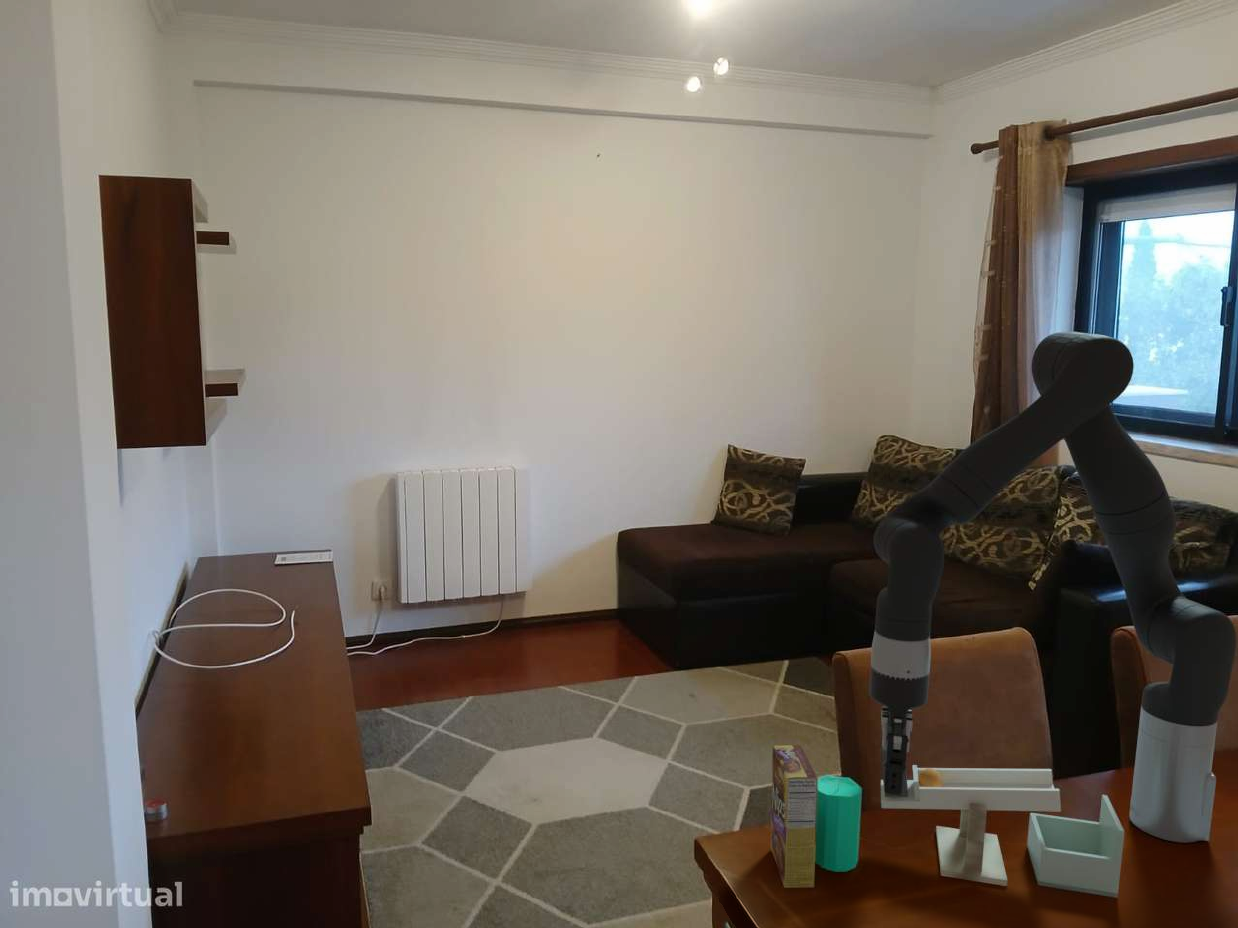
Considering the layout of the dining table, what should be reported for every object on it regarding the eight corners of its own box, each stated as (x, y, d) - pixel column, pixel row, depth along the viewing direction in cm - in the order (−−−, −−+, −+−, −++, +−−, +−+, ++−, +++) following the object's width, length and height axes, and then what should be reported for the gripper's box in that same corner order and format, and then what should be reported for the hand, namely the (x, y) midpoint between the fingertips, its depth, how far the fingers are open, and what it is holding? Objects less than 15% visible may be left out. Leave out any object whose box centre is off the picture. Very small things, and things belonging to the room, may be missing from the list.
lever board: (1052, 792, 124) (1048, 737, 123) (1061, 818, 117) (1058, 760, 116) (881, 789, 130) (877, 737, 129) (882, 814, 123) (877, 759, 122)
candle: (858, 874, 120) (864, 788, 118) (811, 868, 122) (816, 783, 120) (856, 848, 126) (861, 766, 124) (811, 843, 127) (815, 761, 125)
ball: (944, 783, 125) (937, 762, 125) (945, 793, 123) (938, 772, 122) (921, 787, 126) (914, 767, 126) (922, 798, 123) (915, 777, 123)
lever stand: (996, 839, 129) (1001, 775, 127) (1007, 886, 118) (1013, 816, 117) (935, 830, 131) (940, 767, 129) (941, 875, 120) (946, 806, 119)
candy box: (767, 849, 126) (771, 743, 123) (798, 848, 126) (803, 743, 124) (781, 889, 117) (786, 776, 115) (814, 888, 117) (820, 776, 115)
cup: (1100, 857, 125) (1107, 795, 123) (1117, 897, 116) (1124, 831, 115) (1027, 845, 127) (1032, 785, 126) (1038, 884, 119) (1044, 819, 117)
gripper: (932, 688, 115) (923, 816, 118) (926, 650, 129) (919, 765, 132) (870, 681, 117) (863, 807, 120) (871, 644, 131) (864, 758, 134)
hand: (892, 784), depth 126 cm, fingers closed on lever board, 3 cm apart
